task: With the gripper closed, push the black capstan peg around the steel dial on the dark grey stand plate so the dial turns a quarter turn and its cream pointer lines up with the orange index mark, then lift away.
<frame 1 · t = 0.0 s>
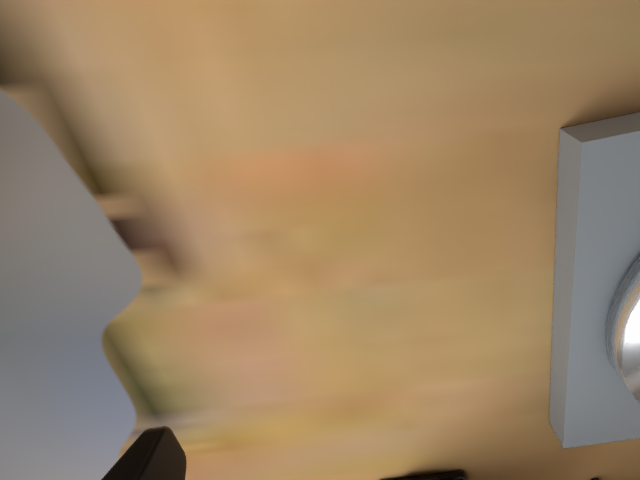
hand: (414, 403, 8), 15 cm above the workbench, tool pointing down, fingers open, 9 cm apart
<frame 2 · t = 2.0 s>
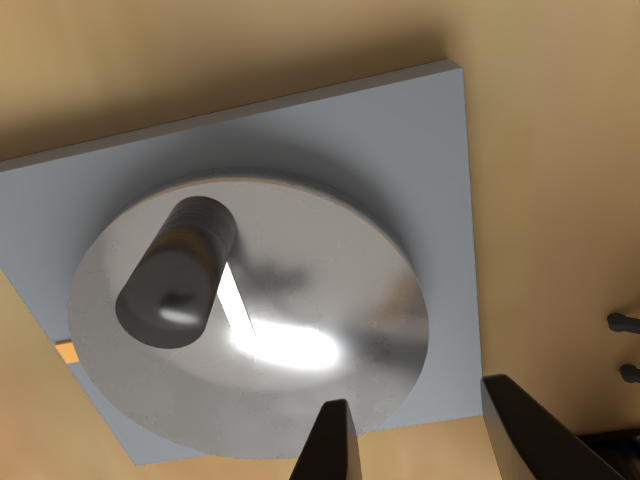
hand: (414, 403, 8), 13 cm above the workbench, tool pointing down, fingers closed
dial: (245, 378, 18), point 6 cm above the workbench, hinge at -90.0°
stand plate: (261, 292, 23), on the workbench
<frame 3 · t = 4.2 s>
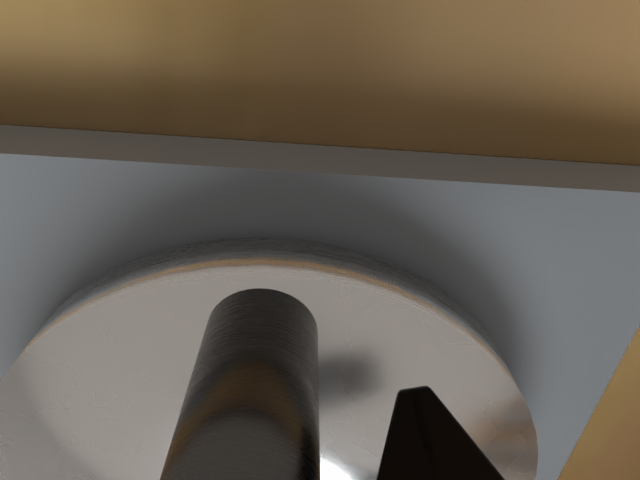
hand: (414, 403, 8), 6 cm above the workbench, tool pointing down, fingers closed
stand plate: (276, 387, 16), on the workbench
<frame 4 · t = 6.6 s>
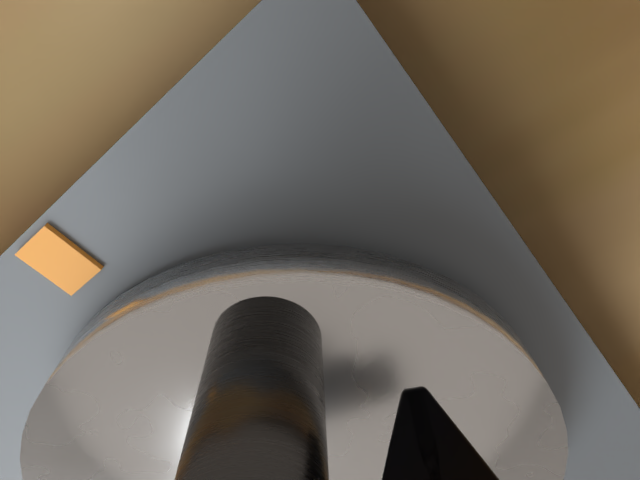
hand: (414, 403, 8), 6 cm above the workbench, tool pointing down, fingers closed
stand plate: (300, 390, 17), on the workbench
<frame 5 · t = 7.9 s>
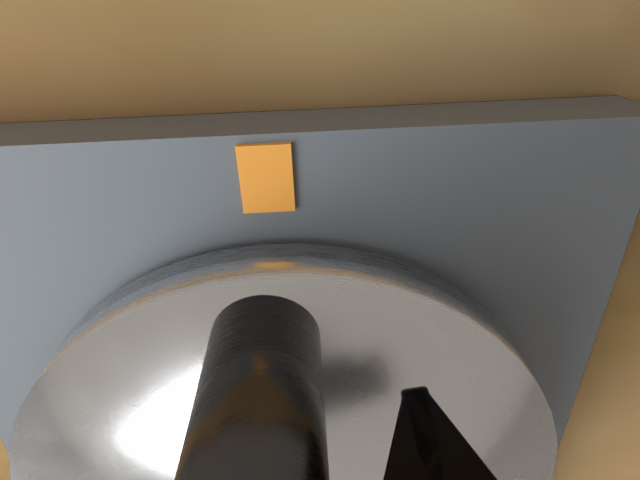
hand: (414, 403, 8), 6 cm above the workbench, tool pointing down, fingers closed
stand plate: (292, 390, 17), on the workbench
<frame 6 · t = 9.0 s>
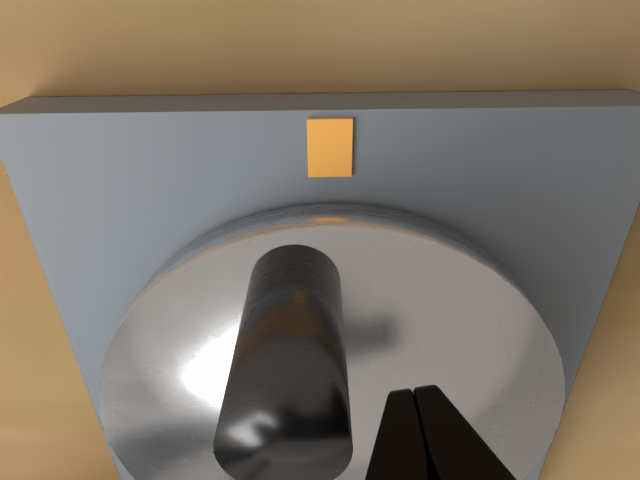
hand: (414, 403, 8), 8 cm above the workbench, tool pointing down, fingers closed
dial: (332, 478, 14), point 6 cm above the workbench, hinge at 9.2°
stand plate: (328, 345, 19), on the workbench
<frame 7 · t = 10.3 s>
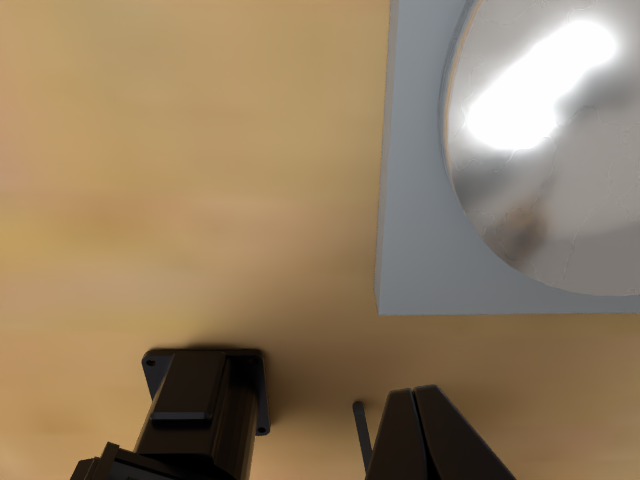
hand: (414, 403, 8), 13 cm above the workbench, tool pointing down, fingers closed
robot dog: (398, 419, 28), on the workbench
stand plate: (618, 77, 18), on the workbench
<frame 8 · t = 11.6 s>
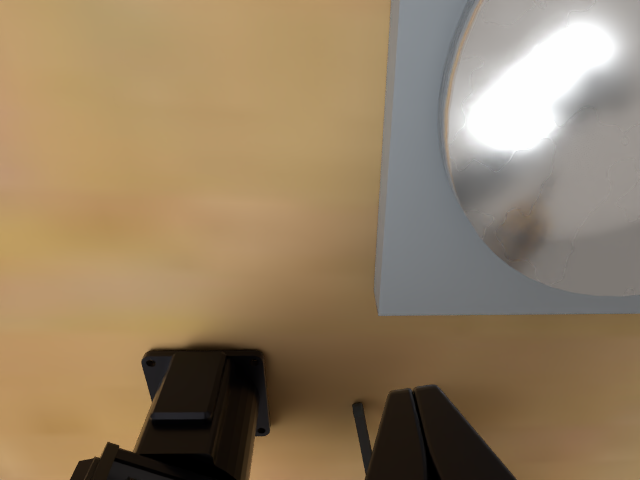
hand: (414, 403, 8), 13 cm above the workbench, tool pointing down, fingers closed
robot dog: (398, 420, 28), on the workbench
stand plate: (617, 79, 18), on the workbench
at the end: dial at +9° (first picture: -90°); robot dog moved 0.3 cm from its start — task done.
